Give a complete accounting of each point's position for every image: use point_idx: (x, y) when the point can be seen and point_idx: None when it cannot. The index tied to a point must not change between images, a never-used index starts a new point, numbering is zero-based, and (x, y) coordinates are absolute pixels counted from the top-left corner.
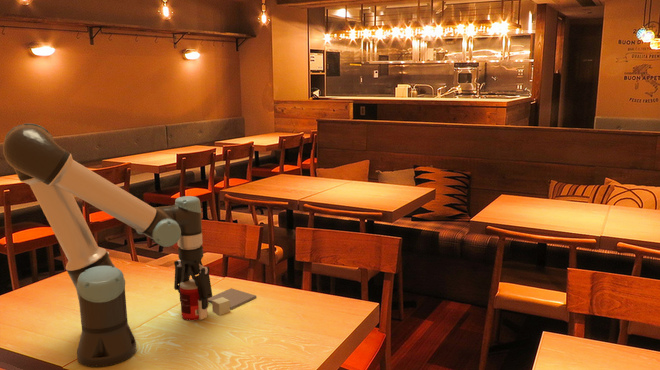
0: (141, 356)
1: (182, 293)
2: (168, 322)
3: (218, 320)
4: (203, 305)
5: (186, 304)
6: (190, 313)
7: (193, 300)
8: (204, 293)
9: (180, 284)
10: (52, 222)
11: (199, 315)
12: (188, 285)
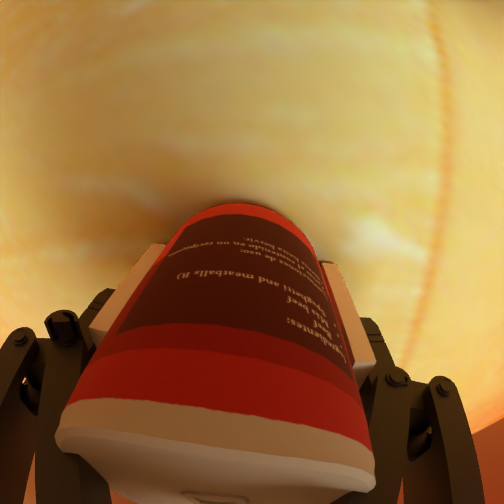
0: None
1: (236, 333)
2: (322, 119)
3: (91, 281)
4: (97, 307)
5: (197, 250)
6: (187, 226)
7: (126, 305)
8: (6, 366)
9: (342, 473)
10: None
11: (153, 255)
12: (214, 477)
